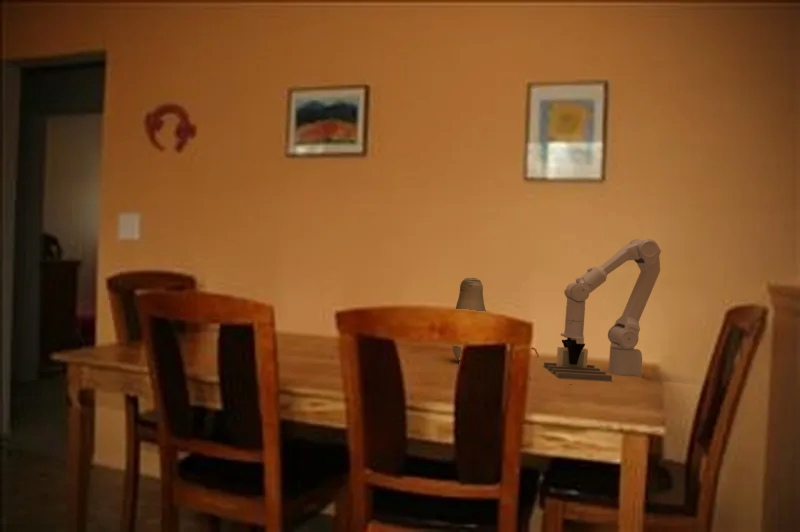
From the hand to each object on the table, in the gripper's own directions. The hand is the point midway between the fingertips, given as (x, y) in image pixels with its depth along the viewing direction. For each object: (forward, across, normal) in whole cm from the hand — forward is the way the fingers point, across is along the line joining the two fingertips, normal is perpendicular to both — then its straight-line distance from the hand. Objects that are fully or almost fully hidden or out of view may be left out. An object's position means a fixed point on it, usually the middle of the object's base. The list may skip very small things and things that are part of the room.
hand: (571, 363), depth 199 cm
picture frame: (+2, 0, 0) cm, 2 cm away
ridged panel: (+3, +5, 0) cm, 6 cm away
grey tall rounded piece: (+3, -9, -32) cm, 33 cm away
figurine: (+3, +16, -19) cm, 25 cm away
